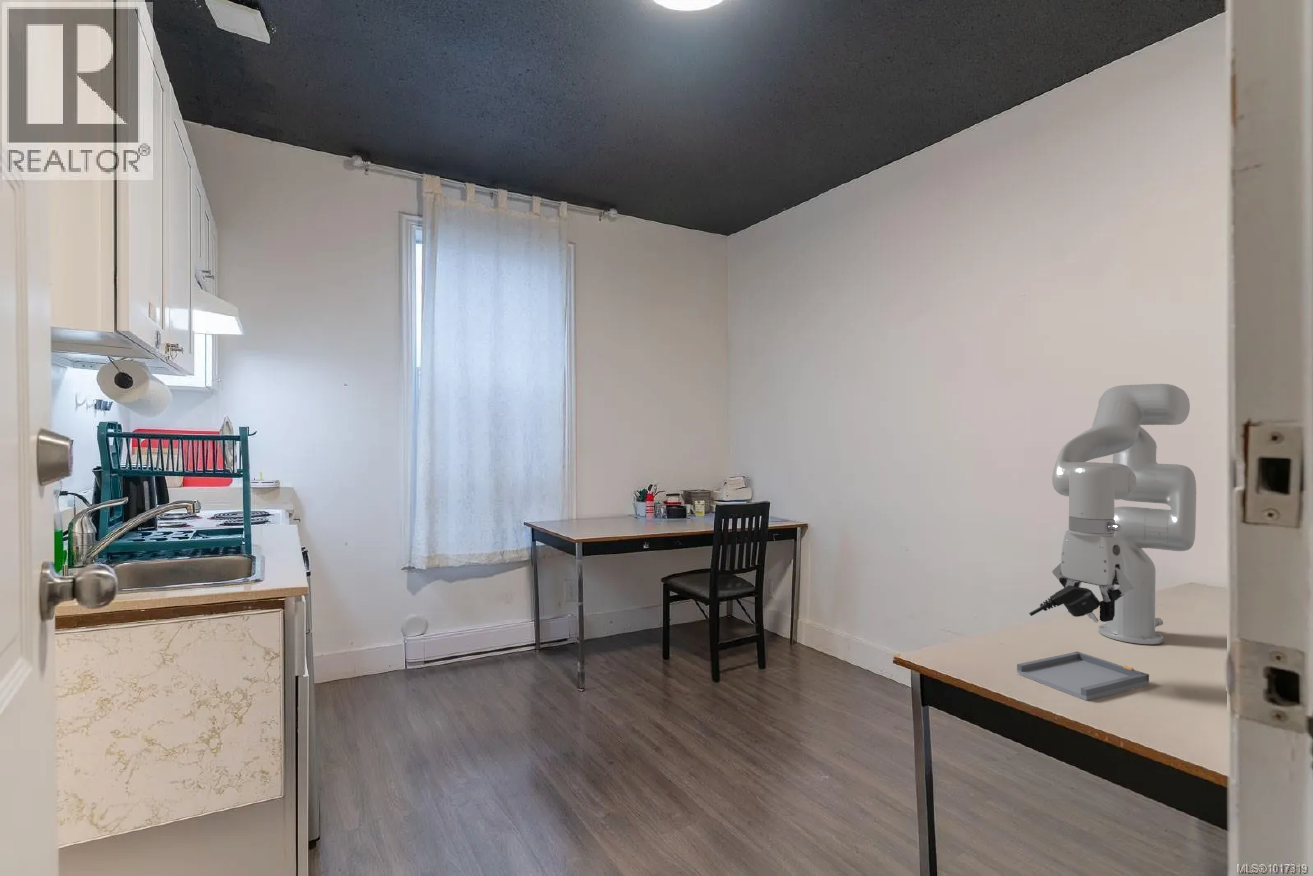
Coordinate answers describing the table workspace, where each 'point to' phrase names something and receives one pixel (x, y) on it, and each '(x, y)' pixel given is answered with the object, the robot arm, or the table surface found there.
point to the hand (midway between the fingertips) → (1090, 615)
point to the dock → (1083, 675)
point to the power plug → (1073, 602)
